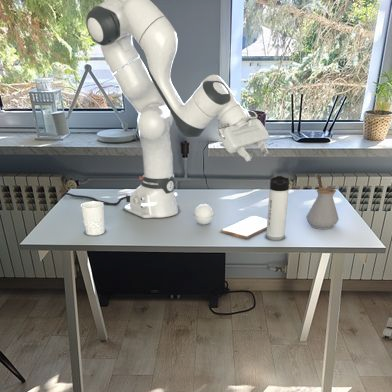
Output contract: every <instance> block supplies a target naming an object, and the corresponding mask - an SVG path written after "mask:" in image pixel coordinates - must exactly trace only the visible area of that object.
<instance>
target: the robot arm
mask: <svg viewBox="0 0 392 392" xmlns="http://www.w3.org/2000/svg"><path fill="white" fill-rule="evenodd" d="M85 23H86V30H87V32H88V34H89V36H90V38H91V39H92V40H93V42H95V43H96V44H98V45H99V46H100V49H101V53H102V55H103V58H104V61H105V62H106V65H107V67H108V69H109V71H110V73H111V74H112V76H113V78H114V80H115V82H116V83H117V86H118V87H119V89H120V91H121V92H122V94H123V95H124V97H125V98H126V99H127V101H128V102H129V103H130V104H131V106H132V107H133V108H134V109H135V111H136V112H137V114H138V116H137V124H136V125H137V128H138V136H139V141H140V147H141V152H142V163H143V164H142V165H143V175H142V176H141V175H140V176H139V177H138V178H139V181H141V183H140V185H139V186H138V187H136V188H135V190H133V191H132V192H130V193H128V194H126V195H125V196H123V197H120V198H119V199H118V201H117V202H108V201H104V200H100V199H97V198H95V197H93V196H88V195H81V194H80V195H79V194H74V193H70V192H63V193H62V194H61V197H65V196H69V197H73V198H81V199H89V200H92V201H98V202H102V203H103V205H108V206H117V205H119V204H120V203H121V202H122V201H123V200H126V203H128V204H126V205H125V206H124V208H123V209H124V210H125V211H127V212H129V213H131V214H134V215H136V216H138V217H141V218H142V219H151V218H168V217H169V218H170V217H171V216H175V215H177V214H179V207H178V204H177V197H176V196H178V193H177V192H176V191H175V185H176V184H175V183H176V181H175V180H176V179H175V173H174V159H173V157H174V155H173V149H172V142H171V133H170V131H171V127H172V125H173V122H174V123H175V126H176V128H177V129H178V131H179V132H180V133H181V135H183V136H185V137H187V138H197V137H200V136H201V135H202V133H203V132H204V131H205V130H206V128H207V126H208V125H210V124H211V122H212V121H213V120H214V119H215V118H216V119H217V122H218V124H219V125H218V128H217V133H218V134H219V138H220V141H221V142H222V143H221V144H222V145H223V146H224V148H225V150H226V151H227V152H228V153H229V154H234V153H237V154H238V155H239V156H241V157H242V158H243V159H244V160H245V162H250V161H251V160H252V159H253V156H252V154H251V152H247V151H246V150H247V149H251V148H254V147H258V148H260V154H261V156H262V157H265V156H267V155H268V154H269V150H268V149H267V143H266V142H267V141H268V140H269V138H270V135H269V132H268V130H267V129H266V127H265V126H264V124H263V122H262V121H261V120H260V119H258V114H257V112H255V111H252V110H248V109H246V108H243V106H242V105H241V104H240V103H239V102H238V101H237V99H236V96H235V95H234V92H232V91H233V90H231V89H230V87H229V86H228V85H227V83H226V82H225V81H224V80H223V79H222V77H220V76H219V75H218V74H211V75H208V76H206V77H205V78H204V79H202V81H201V82H200V85H199V86H198V88H197V89H195V91H194V92H193V94H192V95H191V96H190V97H189V98H188V100H186V102H185V103H184V102H183V100H182V99H181V97H180V95H179V93H178V92H177V90H176V88H175V86H174V85H173V82H172V78H171V72H172V67H173V63H174V59H175V58H176V54H177V50H178V36H177V31H176V30H175V27H174V26H173V25H172V23H171V22H170V21H169V19H168V18H167V17H166V15H165V14H164V13H163V12H162V11H161V10H160V9H159V8H158V7H157V5H156V4H155V3H153V2H152V1H151V0H104V1H102V2H101V3H100V4H98V5H95V6H94V7H93V8H91V9H90V10H89V12H88V13H87V15H86V18H85ZM133 38H134V40H135V41H136V42H137V44H138V45H139V46H140V47H141V49H142V50H143V53H144V56H145V58H146V61H147V67H146V65H145V64H144V62H143V60H142V58H141V57H140V54H139V53H138V51H137V49H136V47H135V44H134V43H133Z"/></svg>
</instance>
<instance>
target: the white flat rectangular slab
mask: <svg viewBox="0 0 392 392" xmlns="http://www.w3.org/2000/svg"><path fill="white" fill-rule="evenodd" d="M267 219H268V218H267V217H266V218H265V217H261V216H257V215H253V214H252V215H251V216H248V217H246V218H244V219H242V220H239V221H237V222H235V223H233V224H231V225H229V226H226V227H224V228H222V229H221V233H222V234H226V235H230V236H232V237H233V236H234V237H237V238H240V239H244V240H248V239H250V238H252V237H254V236H256V235H259V234H260V233H262V232H264V231H267Z"/></svg>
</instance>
